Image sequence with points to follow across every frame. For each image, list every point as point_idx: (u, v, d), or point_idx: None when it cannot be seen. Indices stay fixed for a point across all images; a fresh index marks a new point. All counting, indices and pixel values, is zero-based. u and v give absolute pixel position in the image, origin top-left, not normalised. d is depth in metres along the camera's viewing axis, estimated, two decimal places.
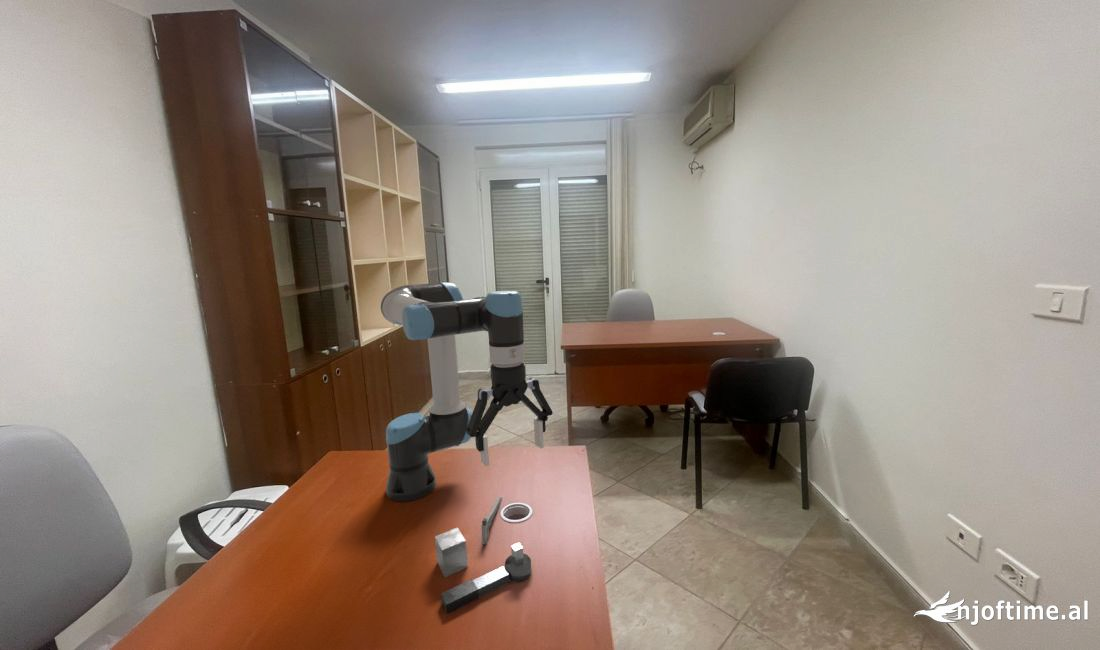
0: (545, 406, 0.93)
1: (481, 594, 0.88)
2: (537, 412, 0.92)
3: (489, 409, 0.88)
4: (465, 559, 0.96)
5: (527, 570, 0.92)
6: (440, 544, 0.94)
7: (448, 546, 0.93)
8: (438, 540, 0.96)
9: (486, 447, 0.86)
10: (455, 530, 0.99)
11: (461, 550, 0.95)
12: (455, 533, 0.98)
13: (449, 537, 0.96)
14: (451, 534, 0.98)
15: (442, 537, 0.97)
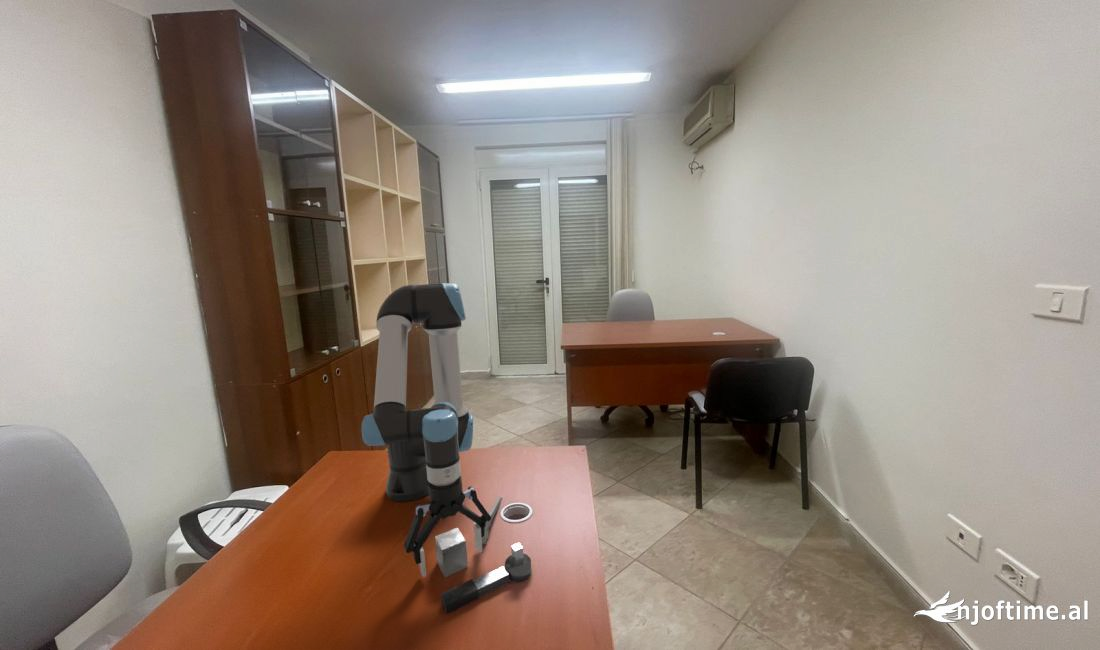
0: (483, 513, 0.99)
1: (481, 594, 0.88)
2: (475, 520, 0.98)
3: (427, 522, 0.93)
4: (465, 559, 0.96)
5: (527, 570, 0.92)
6: (440, 544, 0.94)
7: (448, 546, 0.93)
8: (438, 540, 0.96)
9: (423, 560, 0.92)
10: (455, 530, 0.99)
11: (461, 550, 0.95)
12: (455, 533, 0.98)
13: (449, 537, 0.96)
14: (451, 534, 0.98)
15: (442, 537, 0.97)
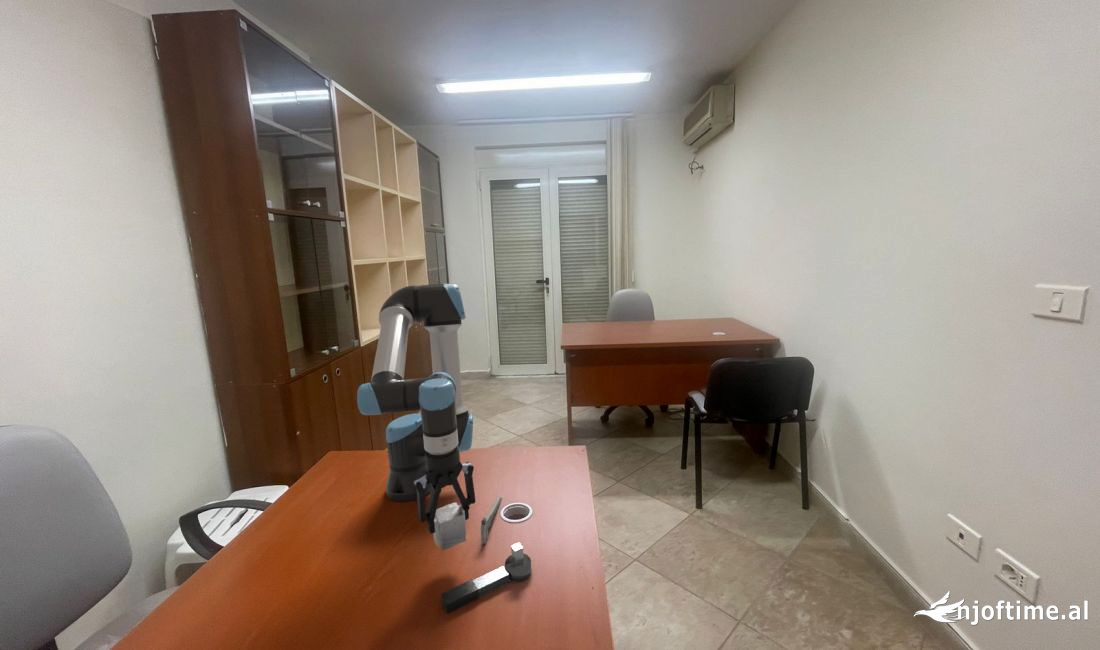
0: (470, 493, 0.97)
1: (481, 594, 0.88)
2: (462, 499, 0.96)
3: (431, 493, 0.93)
4: (463, 533, 0.95)
5: (527, 570, 0.92)
6: (438, 518, 0.94)
7: (446, 520, 0.93)
8: (436, 514, 0.95)
9: (437, 530, 0.93)
10: (453, 504, 0.98)
11: (459, 524, 0.94)
12: (453, 507, 0.97)
13: (447, 511, 0.96)
14: (449, 508, 0.97)
15: (440, 511, 0.96)
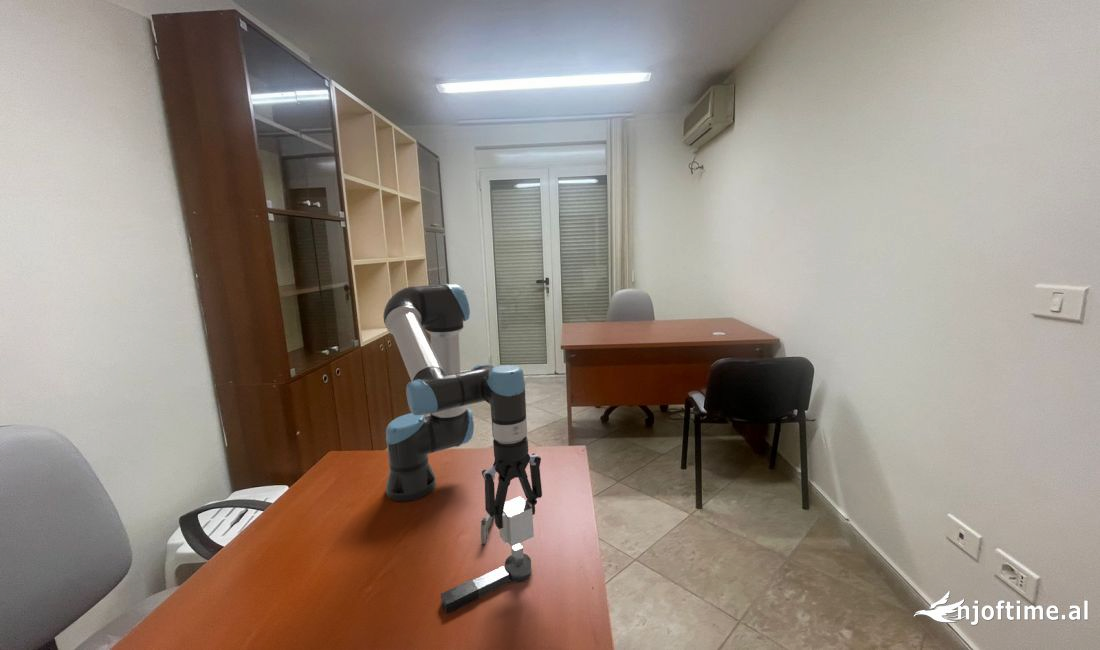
0: (537, 486, 0.93)
1: (481, 594, 0.88)
2: (529, 493, 0.92)
3: (499, 486, 0.89)
4: (531, 528, 0.91)
5: (527, 570, 0.92)
6: (506, 512, 0.89)
7: (515, 513, 0.89)
8: None
9: (505, 525, 0.89)
10: (518, 499, 0.94)
11: (527, 518, 0.90)
12: (519, 501, 0.93)
13: (514, 505, 0.92)
14: (515, 502, 0.93)
15: (506, 505, 0.92)
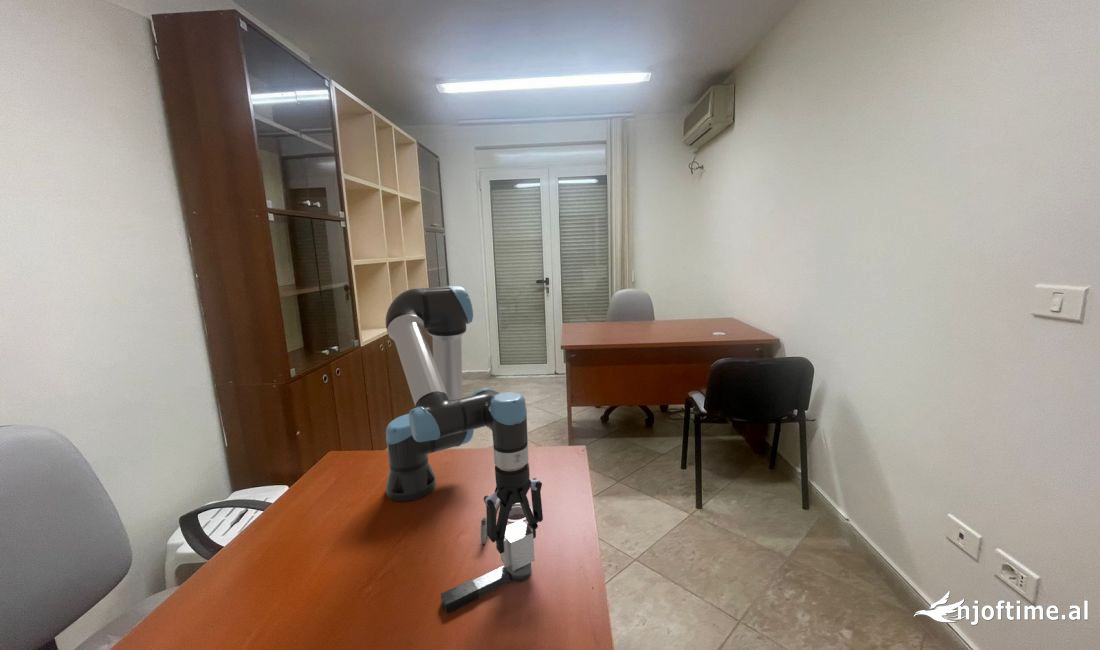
0: (538, 511, 0.94)
1: (481, 594, 0.88)
2: (530, 517, 0.93)
3: (500, 511, 0.90)
4: (532, 552, 0.92)
5: (527, 570, 0.92)
6: (507, 537, 0.91)
7: (516, 539, 0.90)
8: None
9: (506, 549, 0.90)
10: (519, 522, 0.95)
11: (528, 543, 0.91)
12: (520, 525, 0.94)
13: (515, 529, 0.93)
14: (516, 526, 0.94)
15: (507, 529, 0.93)
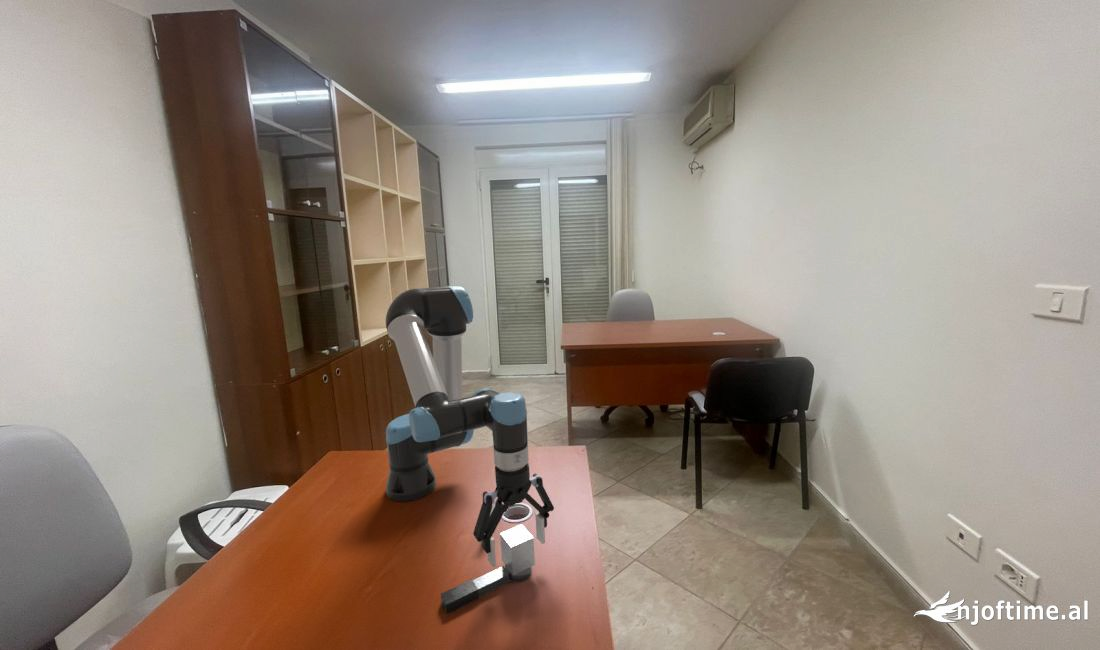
0: (547, 502, 0.95)
1: (481, 594, 0.88)
2: (539, 509, 0.94)
3: (494, 510, 0.89)
4: (532, 557, 0.92)
5: (527, 570, 0.92)
6: (507, 541, 0.91)
7: (516, 543, 0.90)
8: (504, 537, 0.92)
9: (493, 549, 0.88)
10: (520, 527, 0.95)
11: (529, 547, 0.91)
12: (520, 530, 0.94)
13: (515, 534, 0.93)
14: (516, 531, 0.94)
15: (508, 534, 0.93)
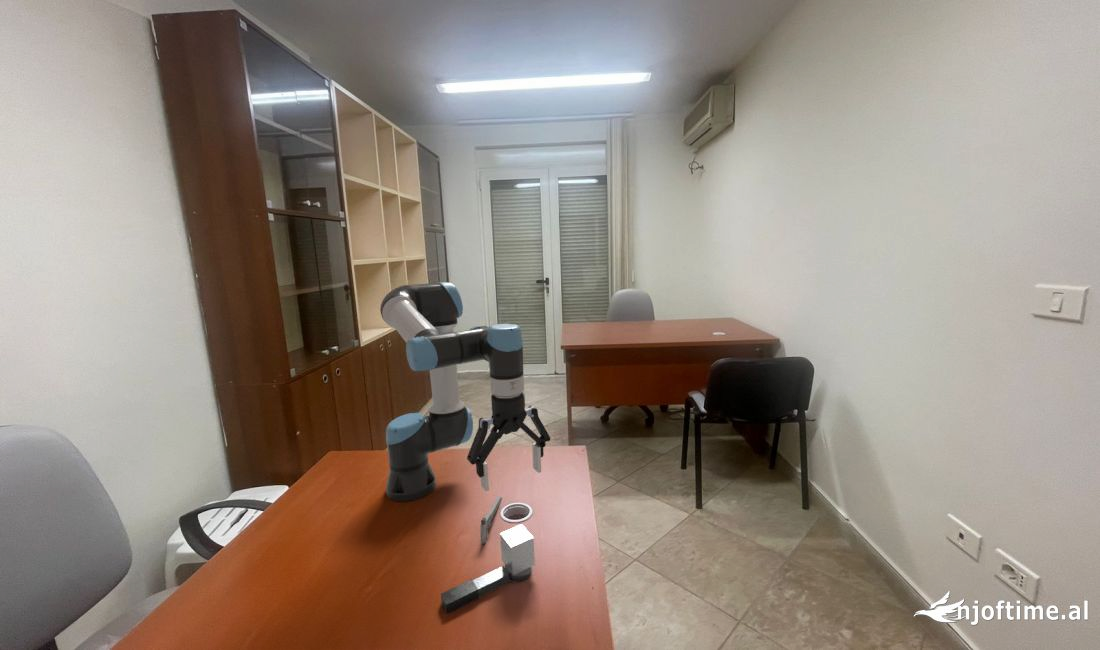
0: (543, 433, 0.97)
1: (481, 594, 0.88)
2: (535, 439, 0.96)
3: (489, 437, 0.92)
4: (532, 557, 0.92)
5: (527, 570, 0.92)
6: (507, 541, 0.91)
7: (516, 543, 0.90)
8: (504, 537, 0.92)
9: (486, 473, 0.91)
10: (520, 527, 0.95)
11: (529, 547, 0.91)
12: (520, 530, 0.94)
13: (515, 534, 0.93)
14: (516, 531, 0.94)
15: (508, 534, 0.93)
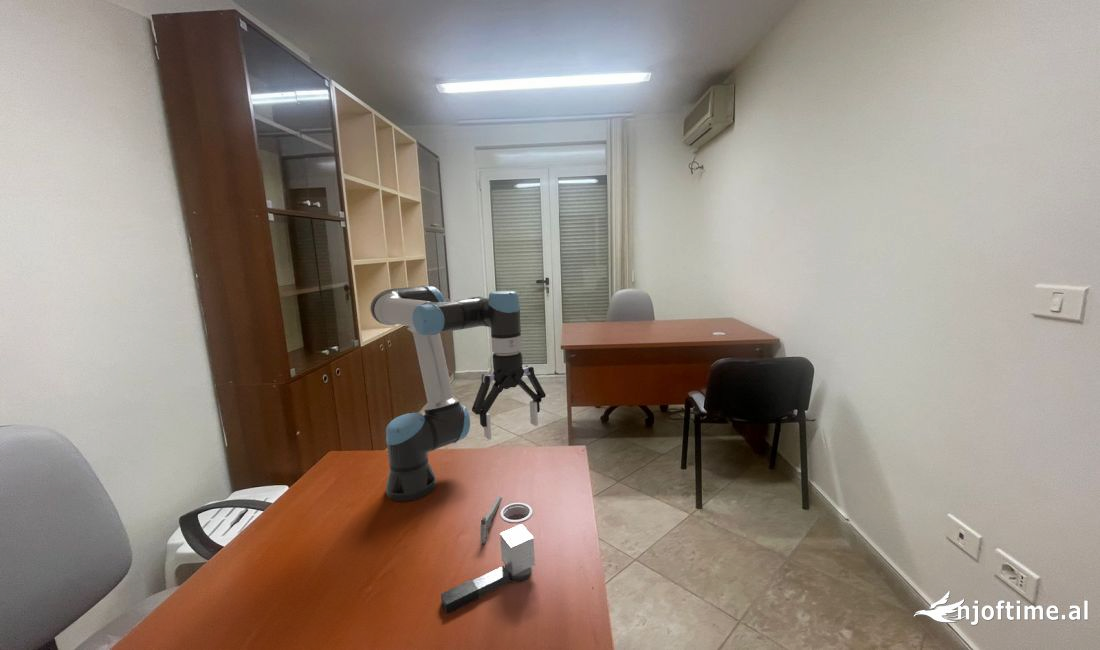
0: (539, 390, 1.09)
1: (481, 594, 0.88)
2: (532, 395, 1.08)
3: (491, 391, 1.03)
4: (532, 557, 0.92)
5: (527, 570, 0.92)
6: (507, 541, 0.91)
7: (516, 543, 0.90)
8: (504, 537, 0.92)
9: (489, 423, 1.02)
10: (520, 527, 0.95)
11: (529, 547, 0.91)
12: (520, 530, 0.94)
13: (515, 534, 0.93)
14: (516, 531, 0.94)
15: (508, 534, 0.93)
